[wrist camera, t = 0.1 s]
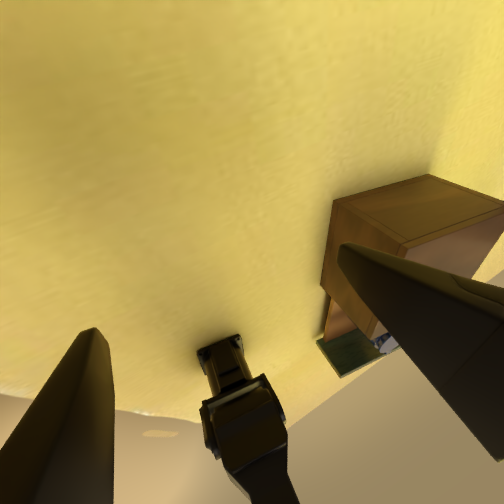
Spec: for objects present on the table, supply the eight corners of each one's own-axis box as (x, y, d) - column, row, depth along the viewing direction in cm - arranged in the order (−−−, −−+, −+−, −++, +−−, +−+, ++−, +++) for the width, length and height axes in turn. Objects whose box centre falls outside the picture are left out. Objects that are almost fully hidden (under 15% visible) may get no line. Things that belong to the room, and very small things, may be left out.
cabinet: (396, 255, 41) (457, 298, 34) (320, 285, 37) (369, 341, 30) (428, 173, 33) (520, 206, 25) (333, 200, 29) (408, 249, 21)
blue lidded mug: (369, 313, 45) (401, 346, 40) (343, 325, 44) (373, 360, 38) (380, 283, 40) (419, 316, 35) (352, 295, 39) (388, 331, 33)
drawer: (371, 330, 53) (398, 359, 48) (312, 357, 49) (335, 392, 44) (400, 261, 41) (440, 289, 36) (324, 290, 37) (358, 327, 32)
